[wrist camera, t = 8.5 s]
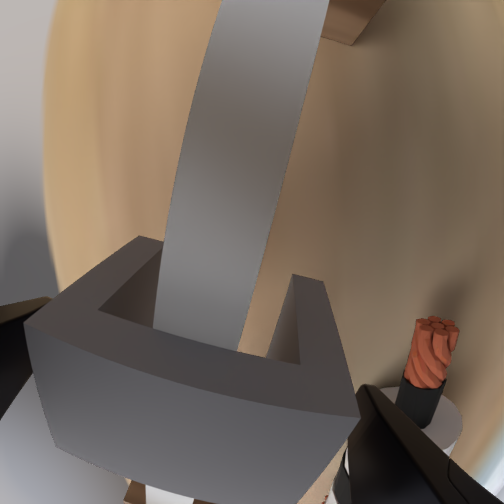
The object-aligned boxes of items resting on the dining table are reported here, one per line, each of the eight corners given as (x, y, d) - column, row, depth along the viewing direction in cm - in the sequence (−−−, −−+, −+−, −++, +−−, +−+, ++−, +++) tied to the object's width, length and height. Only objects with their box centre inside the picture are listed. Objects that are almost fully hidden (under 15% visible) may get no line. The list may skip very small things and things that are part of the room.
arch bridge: (252, -32, 10) (224, -164, 2) (362, -7, 10) (432, -122, 2) (157, 439, 19) (119, 538, 11) (226, 457, 19) (207, 562, 11)
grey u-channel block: (139, 235, 10) (23, 323, 5) (323, 281, 10) (360, 418, 5) (131, 336, 11) (55, 446, 6) (287, 377, 11) (287, 513, 6)
